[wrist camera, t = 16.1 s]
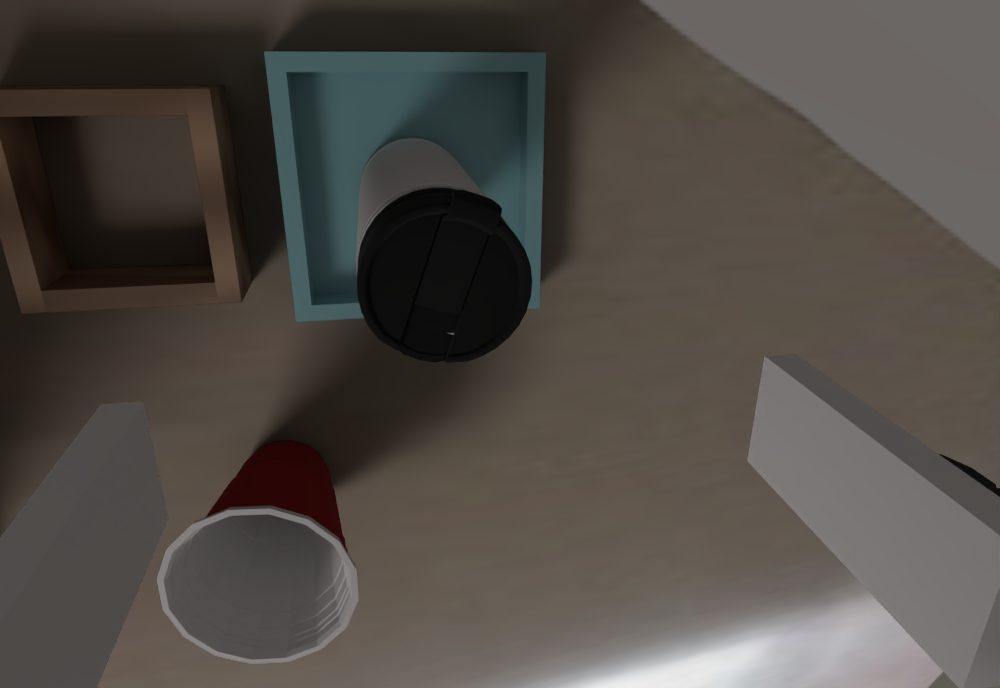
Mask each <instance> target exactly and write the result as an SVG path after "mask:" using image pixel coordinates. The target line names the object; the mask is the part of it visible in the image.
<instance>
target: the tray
mask: <svg viewBox="0 0 1000 688" xmlns="http://www.w3.org/2000/svg"><path fill="white" fill-rule="evenodd" d="M264 56H265V64H266V72H267V81H268V89H269V98H270V106H271V114H272V123H273V131H274V140H275V148H276V156H277V165H278V173H279V182H280V190H281V198H282V207H283V215H284V224H285V232H286V240H287V249H288V257H289V266H290V274H291V283H292V291H293V299H294V308H295V316H296V322H306V321H323V320H340V319H358V318H364V316H363V314H362V313H361V309H360V305H359V301H358V297H357V270H356V257H357V255H356V253H357V233H358V213H359V193H360V181H361V175H362V172H363V169H364V167H365V164H366V163H367V161H368V160H369V158H370V156H371V155H372V154H373V153H374V152H375V151H376V150H377V149H378V148H379V147H381V146H382V145H384V144H385V143H387V142H389V141H392V140H394V139H397V138H401V137H407V136H410V137H421V138H426V139H429V140H431V141H434V142H436V143H438V144H439V145H441V146H442V147H444V148H445V149H446V150H447V151H448V152H449V153H450V154H451V155H452V156H453V157H454V158H455V160H456V161H457V162H458V163H459V164H460V166H461V167H462V168H463V169H464V170H465V172H466V173H467V174H468V175H469V176H470V178H471V179H472V180H473V181H474V183H475V184H476V185H477V186H478V187H479V189H480V190H481V191H482V192H483V193H484V195H485V196H486V197H488V198H490V199H492V200H494V201H495V202H496V203H497V204H499V205H500V206H501V208H502V213H501V215H502V216H503V218H504V219H505V221H506V223H507V224H508V226H509V227H510V229H511V230H512V231H513V232H514V234H515V235H516V236H517V237H518V239H519V241H520V242H521V244H522V246H523V247H524V249H525V251H526V254H527V256H528V259H529V262H530V265H531V273H532V291H531V298H530V301H529V305H528V308H527V309H533V308H540V271H541V233H542V195H543V157H544V119H545V81H546V52H276V51H264Z"/></svg>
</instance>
